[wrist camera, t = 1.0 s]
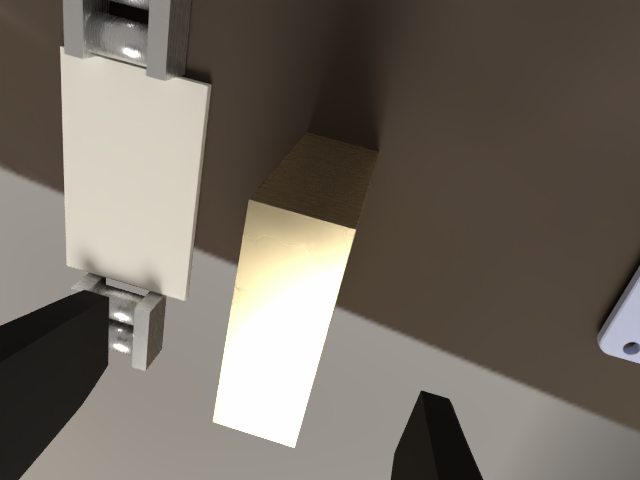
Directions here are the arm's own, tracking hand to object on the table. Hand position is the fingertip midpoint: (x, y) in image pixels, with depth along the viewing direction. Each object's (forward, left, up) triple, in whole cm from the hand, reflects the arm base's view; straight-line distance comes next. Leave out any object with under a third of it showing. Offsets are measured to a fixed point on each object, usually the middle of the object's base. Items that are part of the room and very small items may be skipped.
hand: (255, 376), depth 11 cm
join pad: (+7, 0, -7) cm, 10 cm away
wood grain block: (0, 0, -7) cm, 7 cm away
